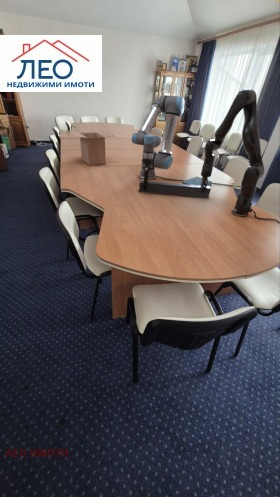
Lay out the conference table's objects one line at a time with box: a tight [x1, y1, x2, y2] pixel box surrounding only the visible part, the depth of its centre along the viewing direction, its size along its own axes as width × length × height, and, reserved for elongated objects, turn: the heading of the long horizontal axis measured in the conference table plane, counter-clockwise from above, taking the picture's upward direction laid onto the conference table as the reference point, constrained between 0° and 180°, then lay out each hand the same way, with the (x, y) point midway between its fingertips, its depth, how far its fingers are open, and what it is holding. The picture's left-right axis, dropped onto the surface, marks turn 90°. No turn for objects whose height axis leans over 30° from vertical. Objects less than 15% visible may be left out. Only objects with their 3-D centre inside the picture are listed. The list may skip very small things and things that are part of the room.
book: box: [181, 176, 213, 188], centre depth 191 cm, size 23×16×5 cm
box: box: [70, 129, 114, 166], centre depth 229 cm, size 44×36×27 cm
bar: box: [138, 180, 212, 199], centre depth 174 cm, size 55×5×8 cm, turn 84°
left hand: (145, 187), depth 176 cm, fingers open, 8 cm apart
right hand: (202, 191), depth 173 cm, fingers open, 5 cm apart
